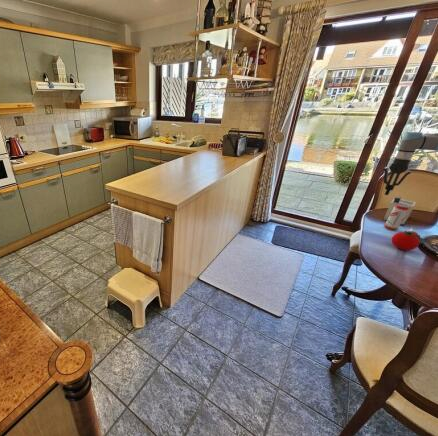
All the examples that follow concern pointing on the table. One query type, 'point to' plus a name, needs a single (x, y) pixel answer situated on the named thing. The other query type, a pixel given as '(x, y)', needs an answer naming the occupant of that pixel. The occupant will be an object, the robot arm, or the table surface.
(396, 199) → the slider
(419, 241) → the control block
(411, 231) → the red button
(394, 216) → the beer can
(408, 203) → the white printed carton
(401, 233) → the tomato
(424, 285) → the table surface
